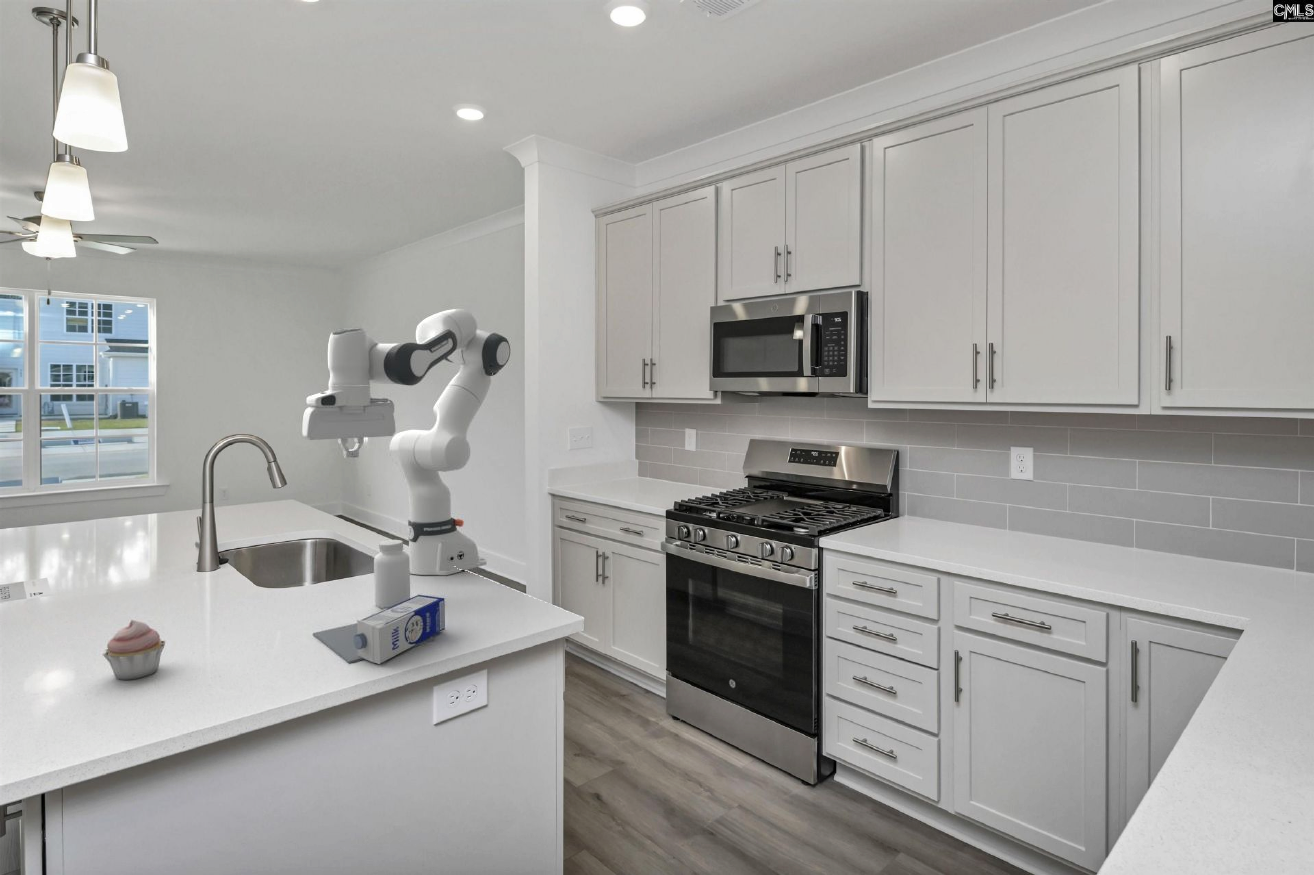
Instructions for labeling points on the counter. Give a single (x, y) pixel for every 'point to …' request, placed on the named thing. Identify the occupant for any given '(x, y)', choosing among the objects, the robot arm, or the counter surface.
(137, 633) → the cupcake
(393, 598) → the pill bottle
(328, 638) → the mat
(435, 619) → the milk carton
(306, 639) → the counter surface
